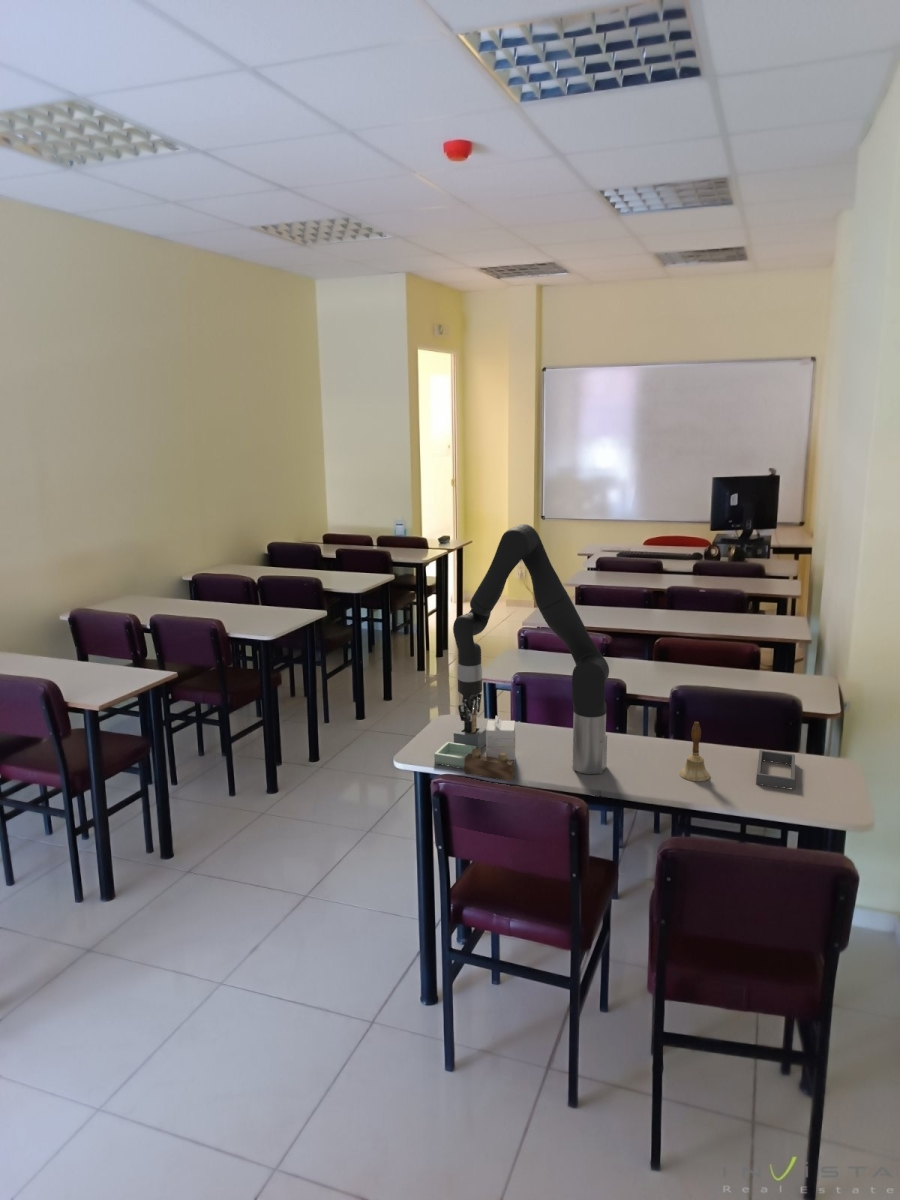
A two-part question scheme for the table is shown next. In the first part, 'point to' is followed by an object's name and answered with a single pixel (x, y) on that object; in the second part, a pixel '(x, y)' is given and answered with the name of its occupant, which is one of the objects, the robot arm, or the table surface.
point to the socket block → (471, 737)
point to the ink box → (500, 738)
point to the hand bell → (695, 760)
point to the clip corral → (772, 779)
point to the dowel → (473, 724)
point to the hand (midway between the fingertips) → (470, 729)
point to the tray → (453, 754)
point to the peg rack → (490, 766)
